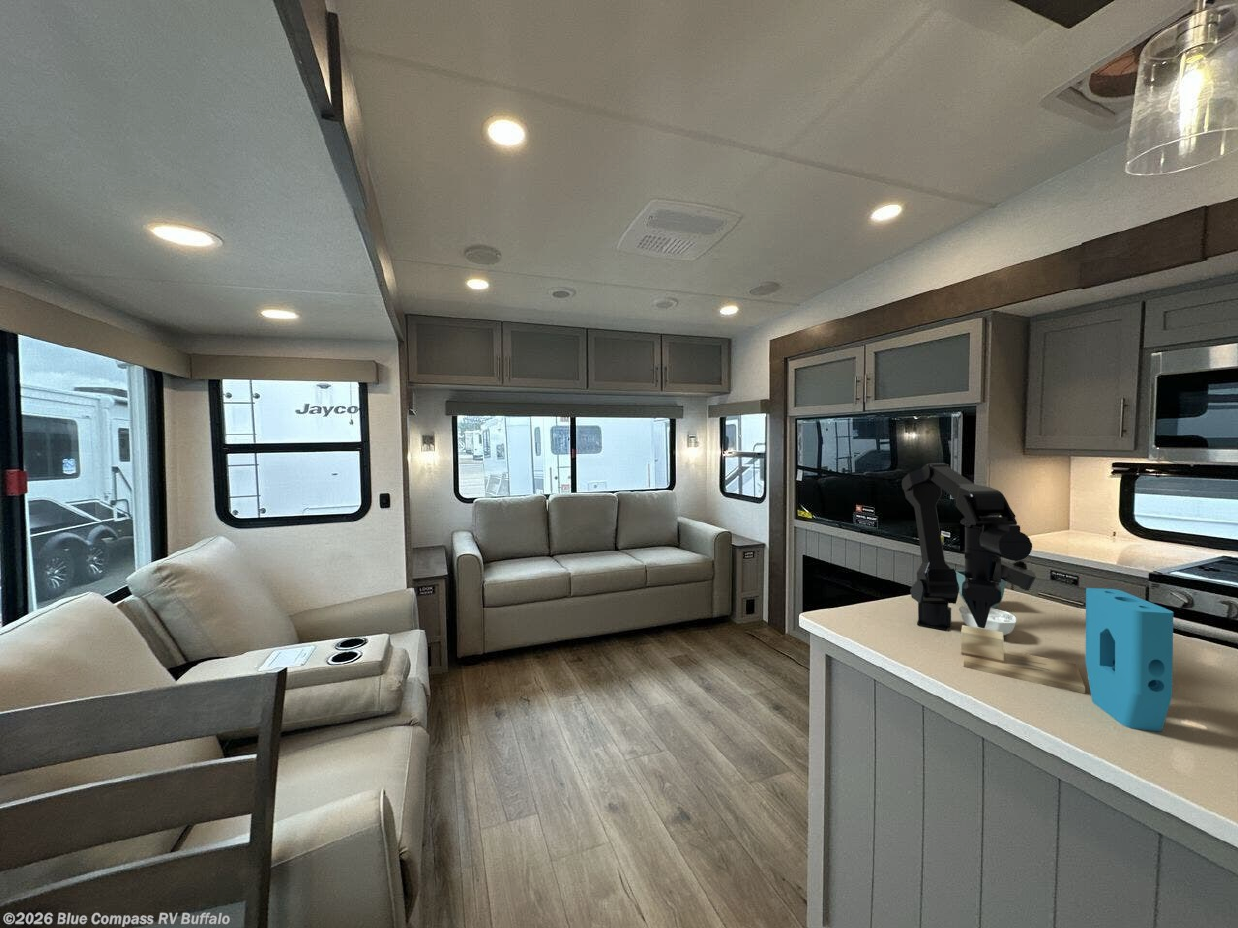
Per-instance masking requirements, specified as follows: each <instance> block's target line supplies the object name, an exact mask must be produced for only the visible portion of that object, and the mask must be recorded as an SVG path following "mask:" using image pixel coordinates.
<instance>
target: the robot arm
mask: <svg viewBox="0 0 1238 928" xmlns="http://www.w3.org/2000/svg"><path fill="white" fill-rule="evenodd" d="M901 487H902V490H903V492H904V496H905V499H906V501H908V502H909V503H910V504H911V506H912V507H913V508H914V509H913V510H914V514H915V522H916V529H917V535H918V536H917V537H918V542H919V548H920V555H921V564H920V566H919V568H918V570H917V572H916V581H915V582H914V584H913V585H912V586H911V588H910V590H909V591H910V597H911V598H912V599H913V600H914V601H916V602H917V614H918V615H917V616H918V617H917V621H916V625H917V626H919V627H920V626H921V627H926V628H931V629H935V630H936V629H937V630H943V631H949V628H950V627H951V626H952V607H950V606H949V604H954V605H956V604H957V601H958V596H959V589H960V588H959V584H958V582H957V576H956V571H957V570H956V569H955V568H951V567H950V566H949V565H948V564H947V562H946V560H945V553H944V547H943V541H942V535H941V529H940V523H939V522H940V521H939V515H938V511H937V510H938V508H937V504H938V502H939V501H940V499H941V497H942V495H943V494H942V493H943V491H944V492H946V493H947V494H948V495H949V496H951V497H952V498H953V499H954V500H955V507H956V508H957V510H958V511H959V512H960V513H961V514H962V515H963V518H962V519H960V521H959V522H960V524H961V525H964V571H965V581H964V582H963V583H962V596H963V598H964V600H965V602H966V603H965V602H964V603H965V604H966V605H967V606H968V607H969V609H970V611H971V613H972V616H973V618H974V620H975V622H976V624H977V626H978V627H979V628H985V625H986V622H987V618H988V615H989V611H990V608H991V606H993V605H995V604H998V605H999V604H1000V603H1001V602H1002V600H1001V587H1000V586H999V583H1001V579H1002V580H1004V581H1006V582H1007V583H1009V584H1012V585H1014V586H1016V587H1019V588H1020V589H1022V590H1024V591H1028V592H1029V591H1030V589H1031V588H1032V586H1033V583H1035V580H1036V579H1037V576H1036V573H1035V572H1034V571H1033V570H1032V569H1028V566H1027V562H1025V561H1023V560H1024V559H1026V558H1028V556H1029V555H1030V554H1031V552H1032V550H1033V543H1032V541H1031V539H1030V537H1029V536H1028V535H1027V534H1025V533H1024V532H1022V531H1021V525H1019V524H1018V521H1017V519H1016V517H1017V516H1016V514H1015V513H1014V512H1013V510H1012V508H1011V506H1010V505H1009V503H1008V500H1007V499H1006V497H1005V495H1004V494H1003V492H1002V491H1000V490H999V489H996V488H993V487H990V486H985V485H981V484H976V483H974V482H972V481H971V480H969V479H968V478H966V477H965V476H963V475H961V474H960V473H959V472H957V471H956V470H954V469H953V468H951V465H949V464H948V463H945V462H943V463H942V462H940V463H926V464H924V465H923V466H922V467H921V468H918V469H916V470H912V471H911V472H908V473H907V474H906V475H905V476H904V477H903V478H902V479H901ZM942 490H943V491H942ZM1002 558H1004V559H1007V560H1009V561H1008V562H1007V561H1004V560H1003V559H1002ZM1010 561H1012V562H1010ZM1006 582H1005V583H1006ZM964 600H963V601H964Z"/></svg>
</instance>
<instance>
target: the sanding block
mask: <svg viewBox="0 0 1238 928" xmlns="http://www.w3.org/2000/svg"><path fill="white" fill-rule="evenodd" d="M960 632H961V633H960V634H961V636H960V640H961V641H960V647H961V648H960V650H961V651H960V652H961V653H960V655H961V656H964V655H965V656H970V657H975V658H980V659H985V660H989V661H994V662H999V663H1004V650H1005V645H1004V635H1003V632H998V631H993V630H987V629H981V628H976V627H970V626H967V625H964V624H962V625H961V630H960Z"/></svg>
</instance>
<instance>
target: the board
mask: <svg viewBox="0 0 1238 928" xmlns="http://www.w3.org/2000/svg"><path fill="white" fill-rule="evenodd" d="M963 667H964V668H967V669H973V670H976V671H977V670H978V671H981V672H986V673H990V674H995V675H998V676H999V675H1000V676H1004V677H1009V678H1013V679H1016V680H1022V681H1027V682H1031V683H1036V684H1041V685H1044V686H1049V687H1053V688H1058V689H1063V690H1067V691H1071V692H1076V693H1081V694H1086V687H1085V684H1084V683H1085V682H1084V681H1083V679H1082V675H1081V673H1080V670H1079V667H1078V665H1077V663H1073V662H1068V661H1063V660H1059V659H1058V660H1057V659H1053V658H1047V657H1043V656H1037V655H1031V654H1026V653H1024V652H1023V653H1022V652H1018V651H1017V652H1016V651H1011V650H1007V649H1004V663H999V662H994V661H989V660H985V659H980V658H975V657H970V656H965V655H963Z"/></svg>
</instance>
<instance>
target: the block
mask: <svg viewBox="0 0 1238 928" xmlns="http://www.w3.org/2000/svg"><path fill="white" fill-rule="evenodd" d="M1173 654H1174V611H1172V610H1170V609H1167V608H1166V607H1163V606H1161V605H1158V604H1155V603H1153V602H1150V601H1147V600H1146V599H1143V598H1140V597H1139V596H1138V597H1137V596H1135V595H1134V594H1130V593H1129V592H1126V591H1123V590H1120V589H1115V588H1097V587H1094V588H1093V587H1086V589H1085V666H1086V673H1087V678H1088V684H1089V689H1090V690H1089V691H1090V697H1091V702H1092V703H1093V704H1094V705H1096V706H1097V707H1098V708H1100V709H1101V710H1102V711H1103V712H1105V713H1106V714H1107V715H1109V716H1110V717H1111V718H1113V719H1114V720H1115V721H1116V722H1118V723H1119V724H1120V725H1122V726H1124V727H1127V728H1129V729H1134V730H1142V731H1143V730H1144V731H1151V732H1162V731H1163V727H1164V724H1165V721H1166V718H1167V714H1168V711H1169V708H1170V705H1171V701H1172V697H1173V667H1174V665H1173V662H1174V661H1173V658H1174V655H1173Z"/></svg>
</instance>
